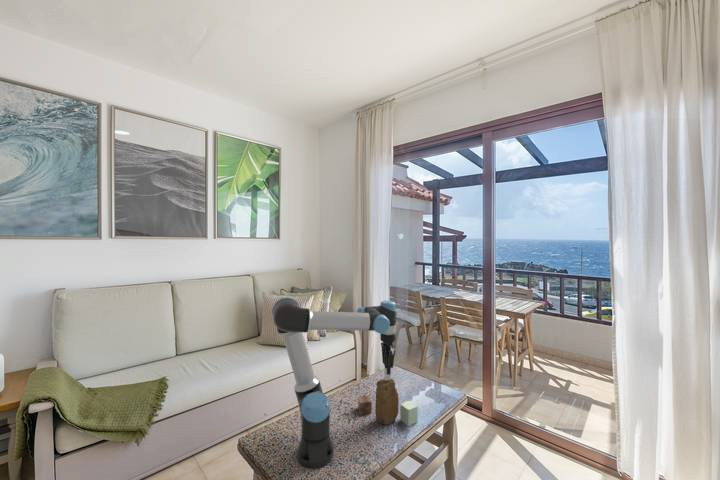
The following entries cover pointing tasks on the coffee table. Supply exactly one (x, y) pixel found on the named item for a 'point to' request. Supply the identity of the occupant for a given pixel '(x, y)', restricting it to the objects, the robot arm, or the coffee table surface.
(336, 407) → the coffee table surface
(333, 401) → the coffee table surface
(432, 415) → the coffee table surface
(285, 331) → the robot arm
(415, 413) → the green block
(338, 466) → the coffee table surface
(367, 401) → the walnut block
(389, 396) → the pitted sandstone rock
